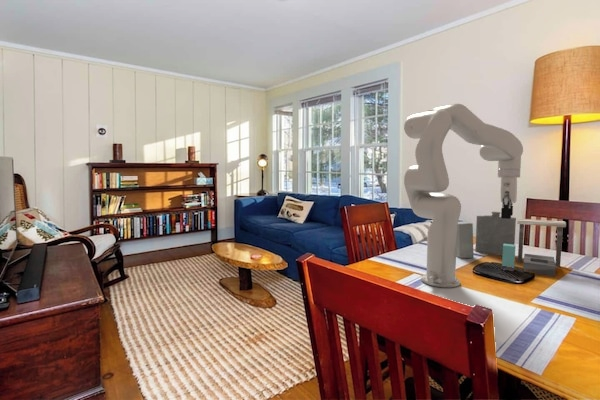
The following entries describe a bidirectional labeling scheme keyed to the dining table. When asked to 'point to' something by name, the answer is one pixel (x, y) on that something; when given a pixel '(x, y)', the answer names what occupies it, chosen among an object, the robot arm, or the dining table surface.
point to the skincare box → (464, 240)
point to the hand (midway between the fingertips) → (506, 216)
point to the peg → (508, 255)
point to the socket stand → (539, 262)
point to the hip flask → (494, 233)
